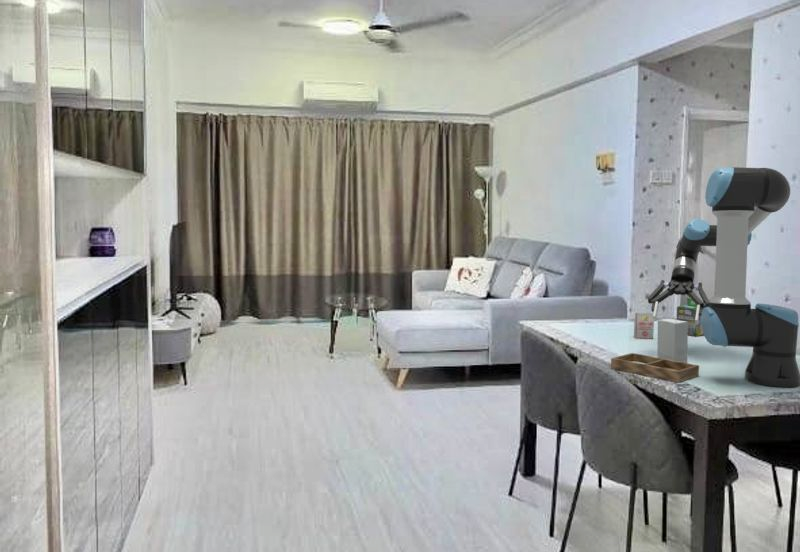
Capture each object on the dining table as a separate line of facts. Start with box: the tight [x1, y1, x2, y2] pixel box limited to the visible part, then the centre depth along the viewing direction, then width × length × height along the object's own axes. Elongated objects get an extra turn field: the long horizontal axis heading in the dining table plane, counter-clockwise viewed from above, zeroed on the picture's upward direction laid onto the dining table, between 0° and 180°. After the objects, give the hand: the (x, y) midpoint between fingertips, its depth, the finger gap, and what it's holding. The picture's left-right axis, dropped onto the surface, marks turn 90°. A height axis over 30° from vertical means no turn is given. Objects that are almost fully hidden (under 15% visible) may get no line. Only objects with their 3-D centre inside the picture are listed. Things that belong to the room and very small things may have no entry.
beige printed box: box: [633, 312, 655, 340], centre depth 280 cm, size 4×7×10 cm, turn 81°
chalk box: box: [676, 297, 704, 337], centre depth 289 cm, size 9×9×15 cm
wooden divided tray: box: [610, 352, 700, 383], centre depth 226 cm, size 23×13×3 cm, turn 41°
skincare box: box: [656, 318, 689, 363], centre depth 236 cm, size 8×6×15 cm
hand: (675, 320), depth 242 cm, fingers open, 13 cm apart
